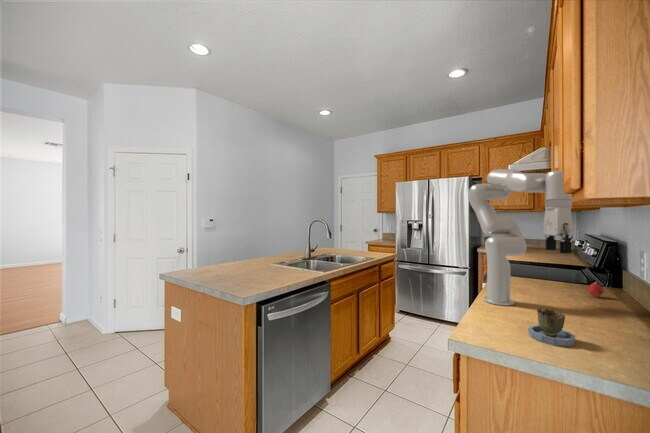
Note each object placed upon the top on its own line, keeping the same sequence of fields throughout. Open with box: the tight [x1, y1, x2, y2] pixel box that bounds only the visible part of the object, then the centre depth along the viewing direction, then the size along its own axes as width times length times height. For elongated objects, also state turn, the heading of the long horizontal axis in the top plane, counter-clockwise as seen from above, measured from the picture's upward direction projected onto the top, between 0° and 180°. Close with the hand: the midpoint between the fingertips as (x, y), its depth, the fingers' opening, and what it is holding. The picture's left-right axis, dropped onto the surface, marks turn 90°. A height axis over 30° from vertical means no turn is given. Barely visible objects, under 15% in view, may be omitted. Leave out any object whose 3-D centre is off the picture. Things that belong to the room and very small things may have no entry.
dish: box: [528, 324, 576, 348], centre depth 95 cm, size 12×12×2 cm
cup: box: [536, 308, 566, 337], centre depth 95 cm, size 8×7×8 cm
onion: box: [587, 281, 605, 298], centre depth 144 cm, size 6×6×8 cm
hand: (557, 251), depth 104 cm, fingers open, 9 cm apart
